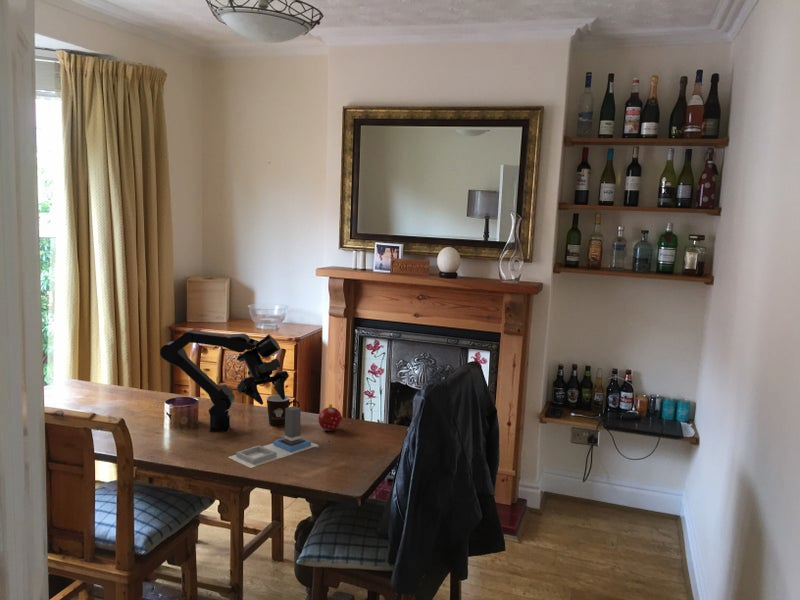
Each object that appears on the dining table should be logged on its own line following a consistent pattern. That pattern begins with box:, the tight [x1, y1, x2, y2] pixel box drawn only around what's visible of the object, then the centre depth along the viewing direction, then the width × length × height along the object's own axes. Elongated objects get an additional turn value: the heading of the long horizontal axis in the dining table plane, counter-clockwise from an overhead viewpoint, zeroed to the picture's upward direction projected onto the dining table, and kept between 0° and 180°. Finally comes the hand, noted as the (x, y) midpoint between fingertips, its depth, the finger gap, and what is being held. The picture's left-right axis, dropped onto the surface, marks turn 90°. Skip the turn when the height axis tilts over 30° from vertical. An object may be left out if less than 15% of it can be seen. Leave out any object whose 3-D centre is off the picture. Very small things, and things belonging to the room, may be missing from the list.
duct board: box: [228, 436, 320, 469], centre depth 207 cm, size 28×12×2 cm, turn 140°
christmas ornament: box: [317, 403, 343, 432], centre depth 231 cm, size 9×9×10 cm
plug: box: [282, 405, 303, 446], centre depth 212 cm, size 5×5×13 cm
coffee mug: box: [266, 394, 300, 428], centre depth 236 cm, size 12×9×10 cm
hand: (273, 401), depth 219 cm, fingers open, 9 cm apart
